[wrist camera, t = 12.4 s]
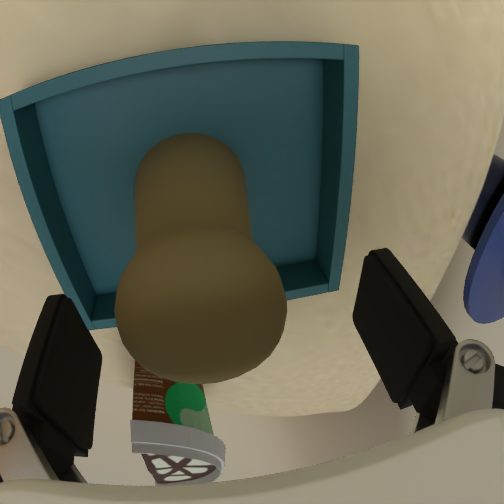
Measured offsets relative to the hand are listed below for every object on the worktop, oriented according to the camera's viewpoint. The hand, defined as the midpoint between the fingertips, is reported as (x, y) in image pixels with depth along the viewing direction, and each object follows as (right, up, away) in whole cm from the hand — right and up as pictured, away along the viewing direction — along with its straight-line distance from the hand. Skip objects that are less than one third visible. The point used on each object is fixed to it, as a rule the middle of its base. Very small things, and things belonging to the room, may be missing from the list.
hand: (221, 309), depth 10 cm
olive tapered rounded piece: (-2, +5, +7) cm, 9 cm away
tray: (-3, +6, +8) cm, 10 cm away
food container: (-6, -9, +17) cm, 20 cm away
